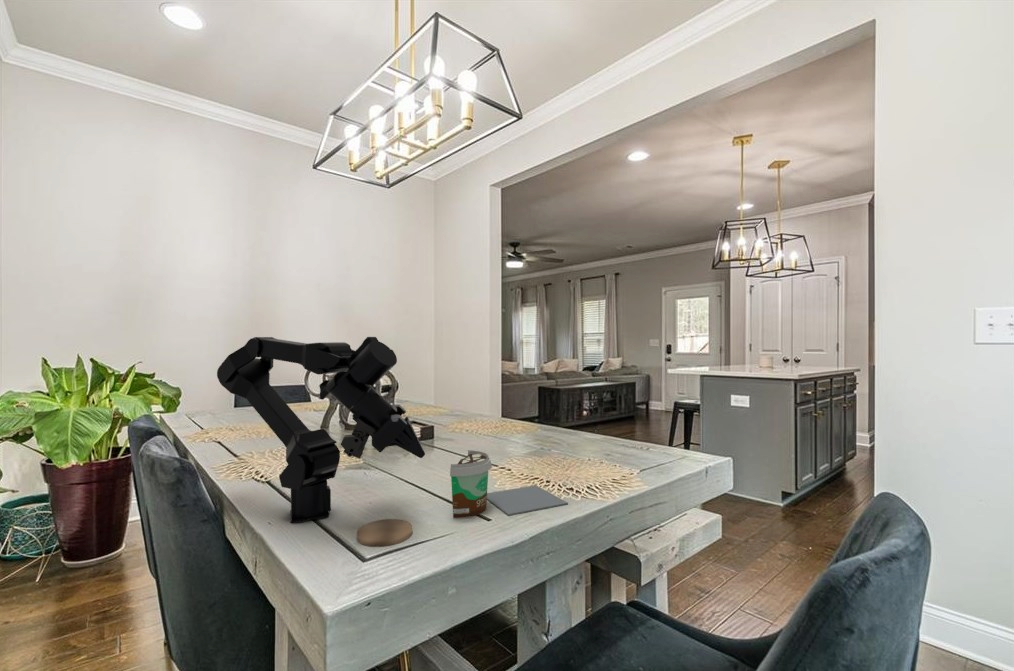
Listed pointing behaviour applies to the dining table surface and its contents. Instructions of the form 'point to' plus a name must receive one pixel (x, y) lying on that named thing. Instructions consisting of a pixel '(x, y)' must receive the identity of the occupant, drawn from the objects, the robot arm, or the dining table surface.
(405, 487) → the dining table surface
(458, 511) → the food container
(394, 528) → the walnut coaster
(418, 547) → the dining table surface
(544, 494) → the rubber mat
